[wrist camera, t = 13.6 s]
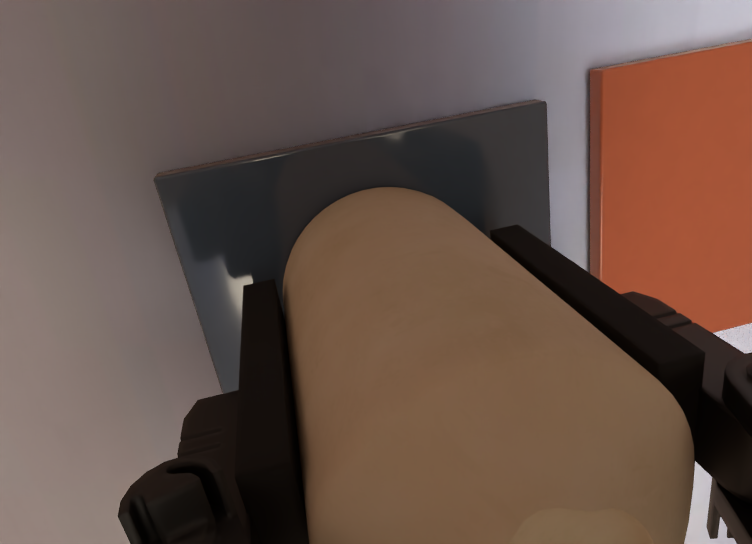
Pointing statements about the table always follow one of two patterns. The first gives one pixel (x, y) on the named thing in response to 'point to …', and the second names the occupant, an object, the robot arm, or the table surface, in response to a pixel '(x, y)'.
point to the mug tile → (675, 181)
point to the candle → (465, 393)
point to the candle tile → (337, 180)
